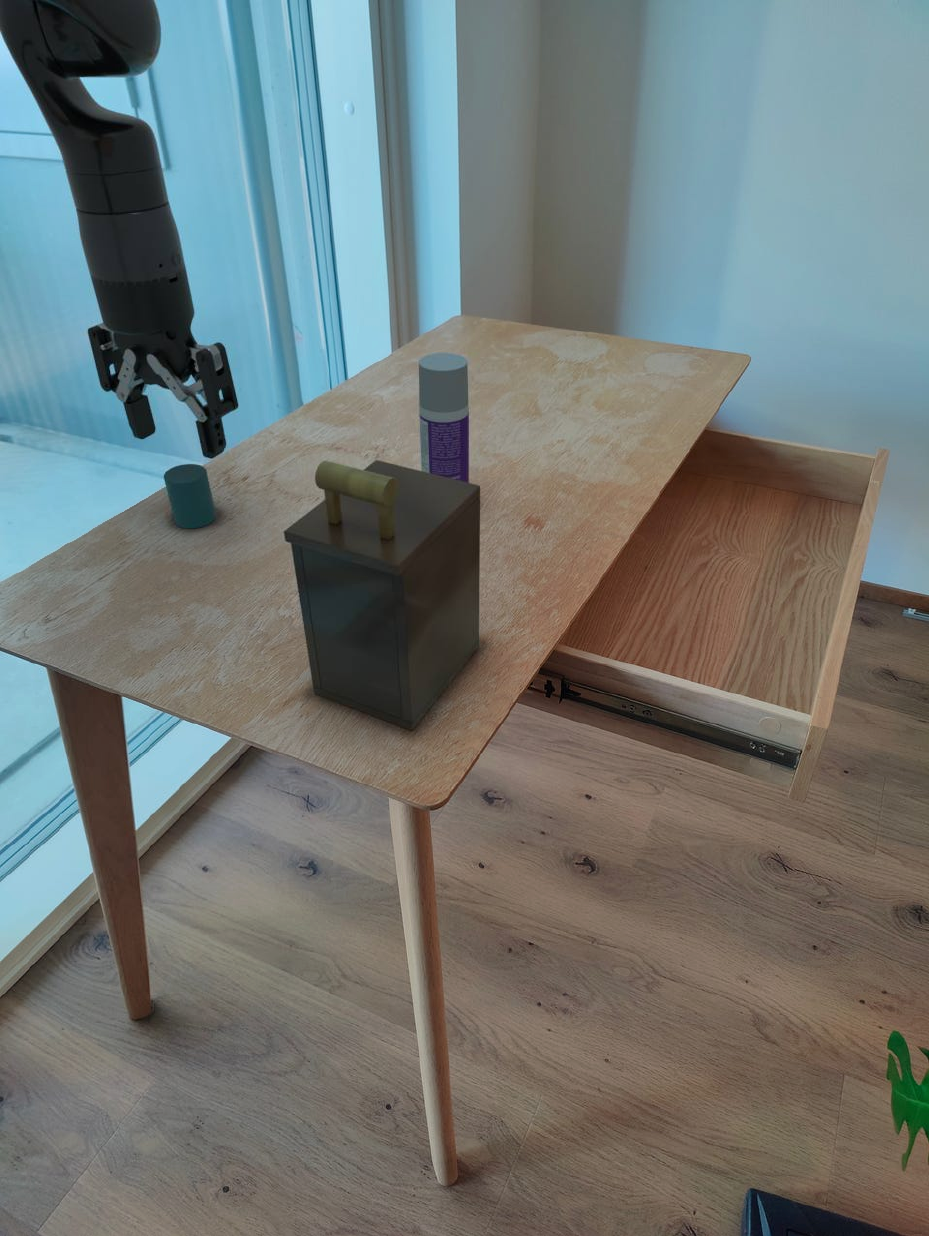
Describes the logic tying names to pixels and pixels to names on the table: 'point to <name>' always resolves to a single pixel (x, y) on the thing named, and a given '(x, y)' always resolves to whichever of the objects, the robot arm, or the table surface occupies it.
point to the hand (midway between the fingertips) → (179, 445)
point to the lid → (380, 513)
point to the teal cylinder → (190, 495)
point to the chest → (392, 624)
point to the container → (444, 415)
